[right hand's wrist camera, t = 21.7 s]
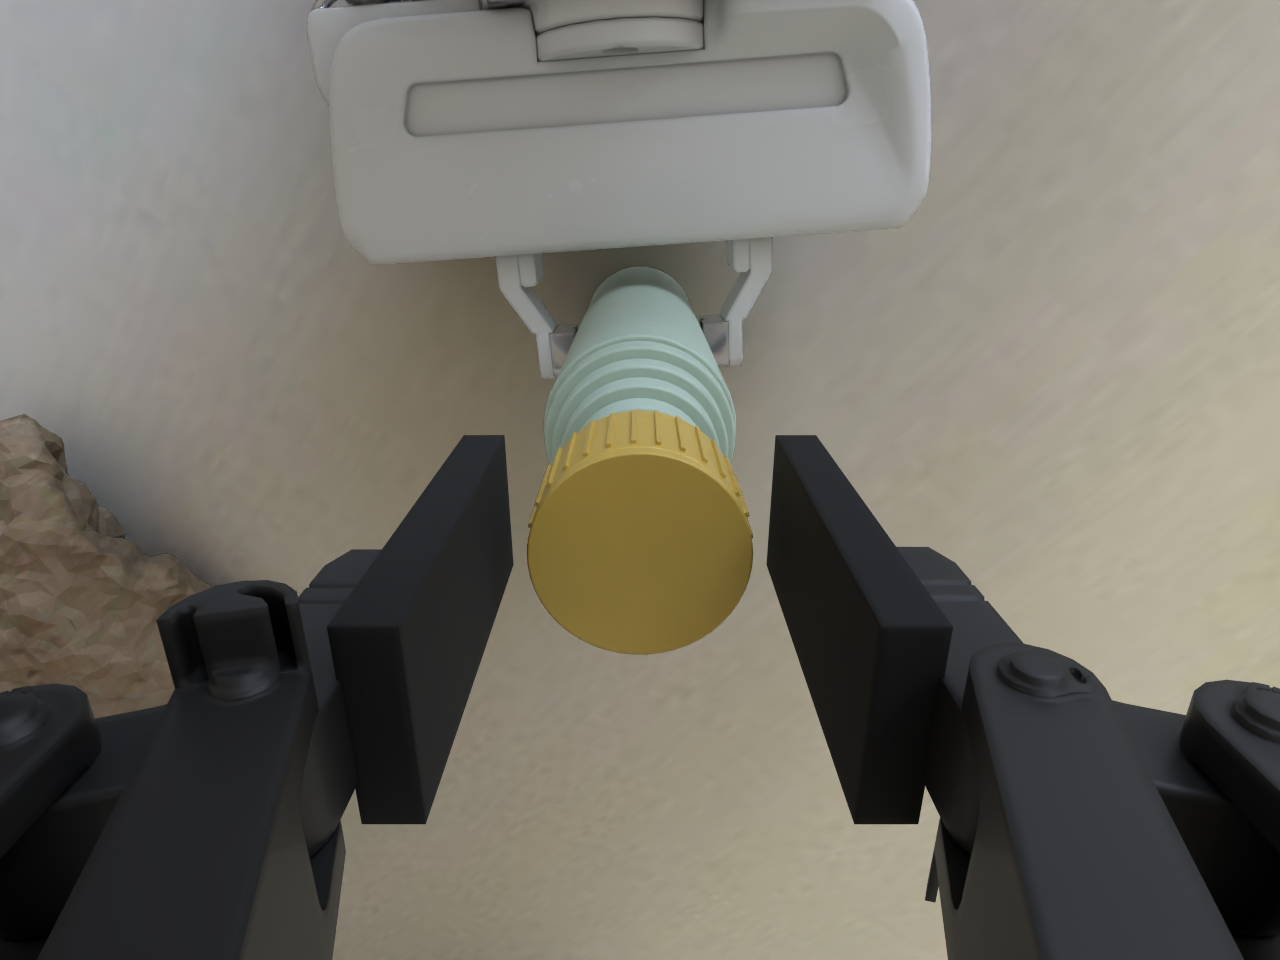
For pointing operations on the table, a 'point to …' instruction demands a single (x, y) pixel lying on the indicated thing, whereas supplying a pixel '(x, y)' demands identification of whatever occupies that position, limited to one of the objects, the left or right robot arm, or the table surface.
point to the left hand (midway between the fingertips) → (642, 369)
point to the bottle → (639, 363)
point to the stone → (77, 584)
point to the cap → (639, 534)
